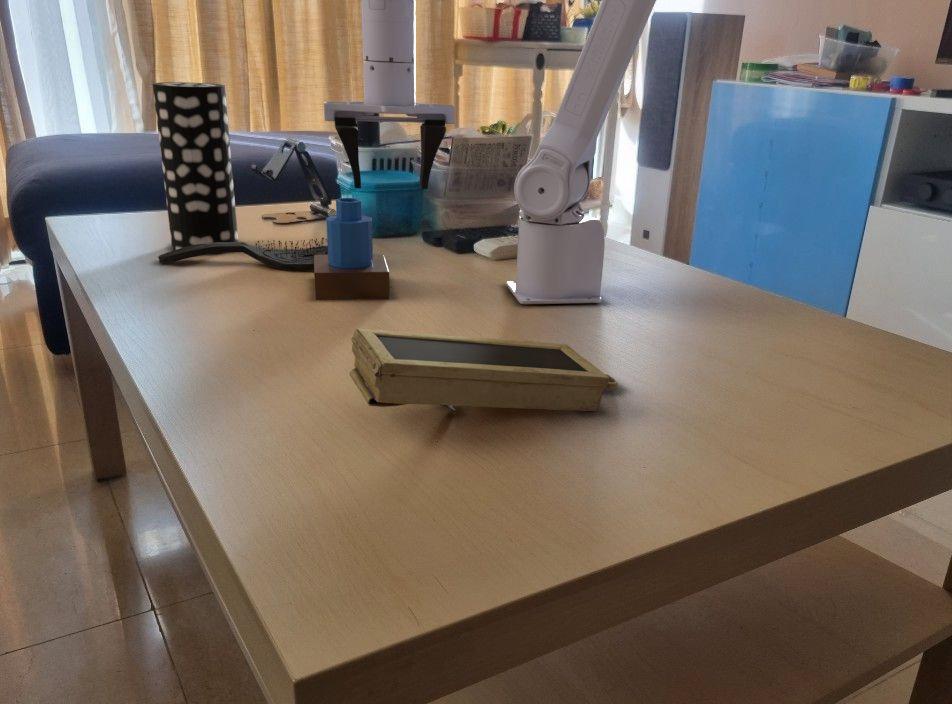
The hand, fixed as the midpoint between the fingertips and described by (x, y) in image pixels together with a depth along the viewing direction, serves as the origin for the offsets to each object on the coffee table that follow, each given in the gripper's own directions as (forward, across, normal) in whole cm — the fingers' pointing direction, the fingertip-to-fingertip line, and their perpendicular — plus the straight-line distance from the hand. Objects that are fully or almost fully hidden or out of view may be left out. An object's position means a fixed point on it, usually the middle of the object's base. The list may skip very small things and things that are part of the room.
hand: (391, 187), depth 97 cm
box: (+11, +5, -40) cm, 42 cm away
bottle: (+7, -5, -6) cm, 11 cm away
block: (+10, -5, -6) cm, 13 cm away
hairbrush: (+11, -15, +6) cm, 19 cm away
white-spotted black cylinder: (+10, -23, +15) cm, 30 cm away
